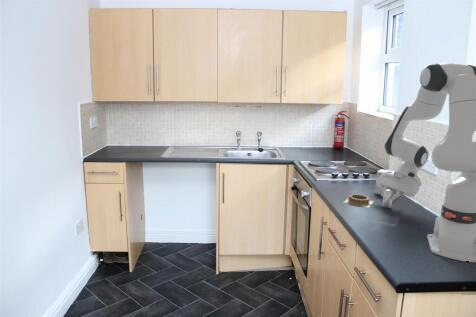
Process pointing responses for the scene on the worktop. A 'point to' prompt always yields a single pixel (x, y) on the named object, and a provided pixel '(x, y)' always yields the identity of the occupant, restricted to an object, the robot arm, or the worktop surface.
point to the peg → (387, 198)
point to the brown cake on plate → (359, 200)
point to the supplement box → (377, 189)
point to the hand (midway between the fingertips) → (387, 197)
